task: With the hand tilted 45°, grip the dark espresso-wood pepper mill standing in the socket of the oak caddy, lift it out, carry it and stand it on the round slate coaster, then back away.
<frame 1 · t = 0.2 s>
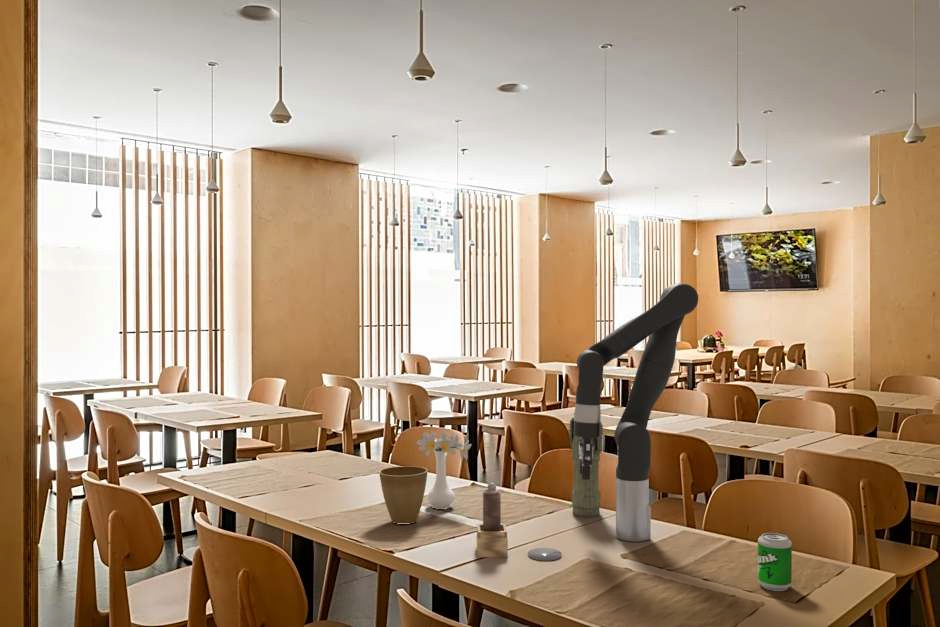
hand: (584, 476, 226), 18 cm above the table, tool pointing down, fingers open, 8 cm apart
oak caddy: (491, 551, 214), on the table
pepper mill: (491, 533, 214), point 5 cm above the table, touching oak caddy
plant pot: (403, 522, 244), on the table
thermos: (586, 514, 253), on the table
soda can: (774, 587, 187), on the table
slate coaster: (544, 555, 211), on the table
flower vase: (443, 507, 261), on the table
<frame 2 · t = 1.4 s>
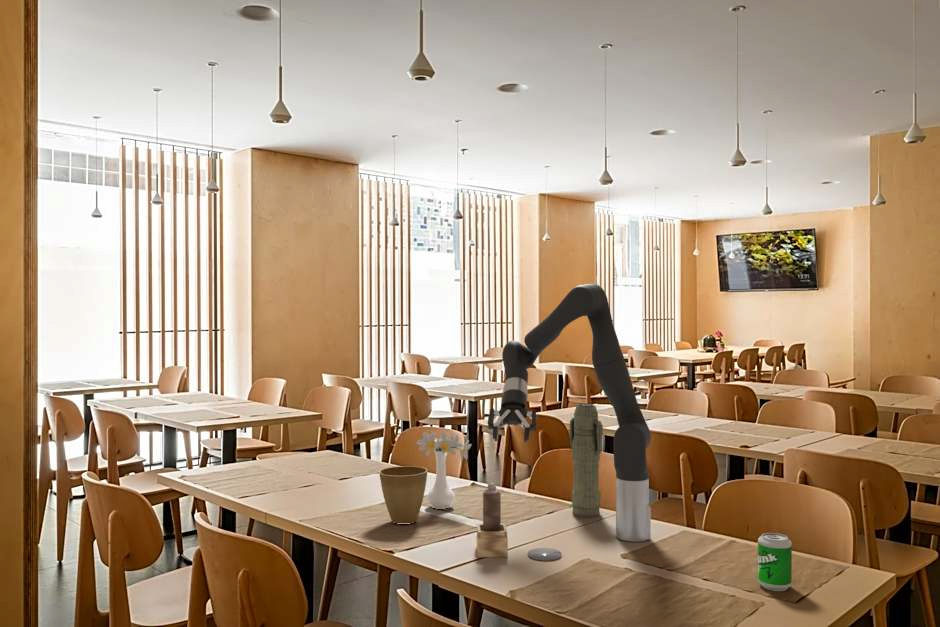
hand: (510, 440, 228), 28 cm above the table, tool tilted 45°, fingers open, 8 cm apart
nothing on the table moved.
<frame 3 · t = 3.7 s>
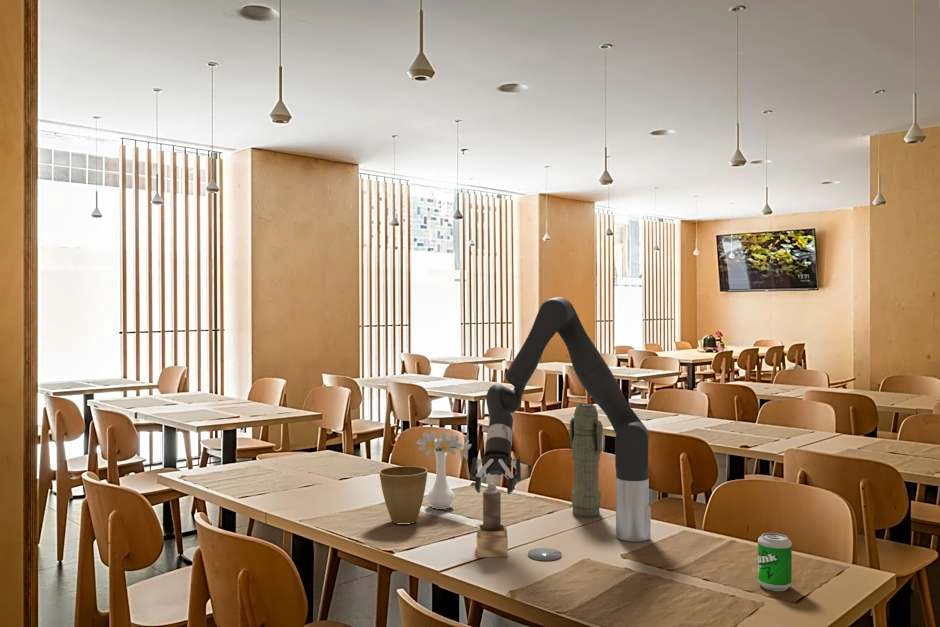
hand: (493, 491, 218), 15 cm above the table, tool tilted 45°, fingers open, 8 cm apart
nothing on the table moved.
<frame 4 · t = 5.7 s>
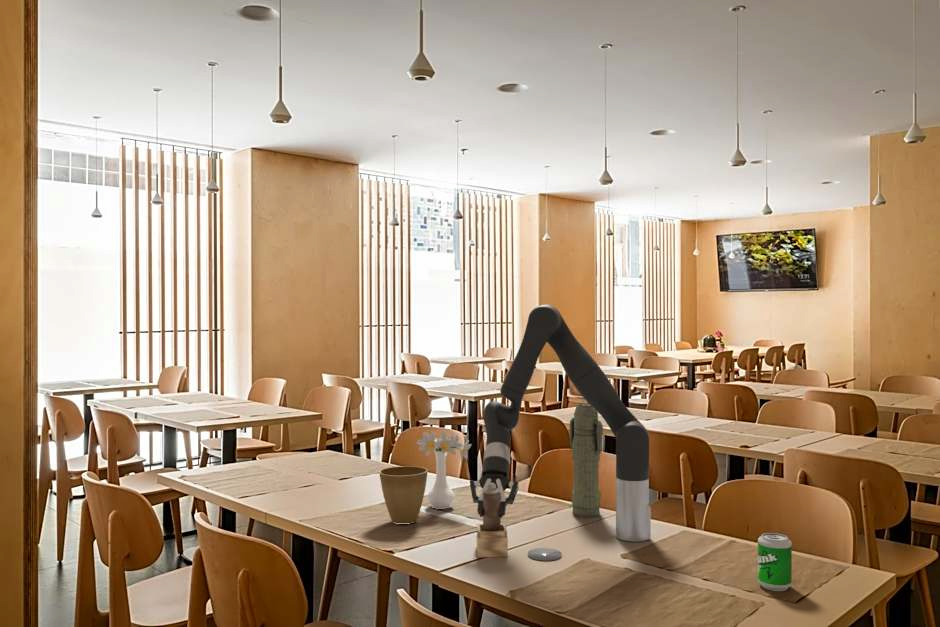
hand: (491, 515, 212), 10 cm above the table, tool tilted 45°, fingers closed on pepper mill, 4 cm apart
pepper mill: (491, 533, 214), point 5 cm above the table, touching gripper, oak caddy
everything else where it was.
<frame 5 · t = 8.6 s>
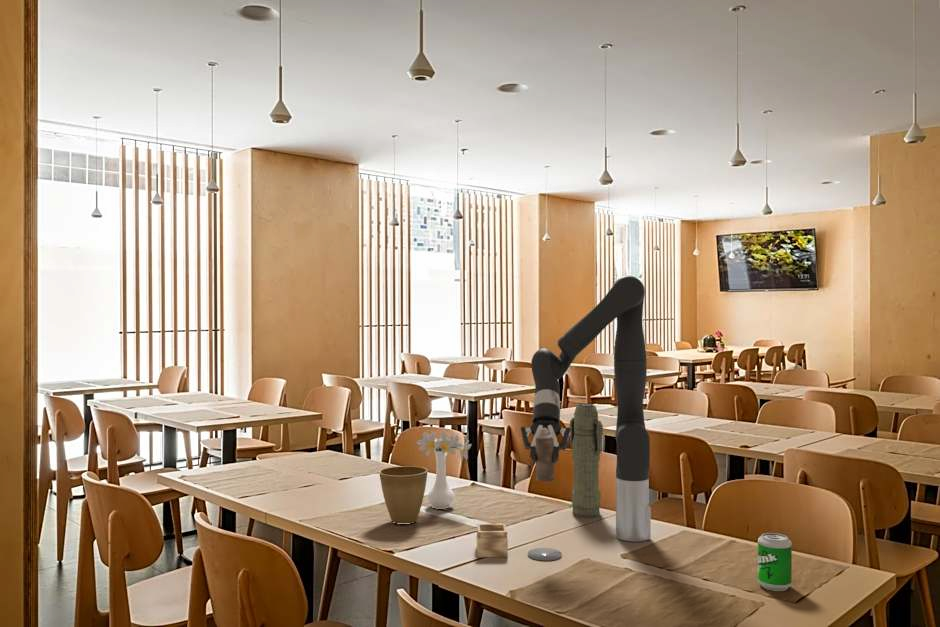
hand: (544, 461, 209), 26 cm above the table, tool tilted 45°, fingers closed on pepper mill, 4 cm apart
pepper mill: (545, 479, 211), point 20 cm above the table, touching gripper
everything else where it was.
when the fingers open (7 cm above the table, at t = 11.4 s): pepper mill drops 2 cm, resting on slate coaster.
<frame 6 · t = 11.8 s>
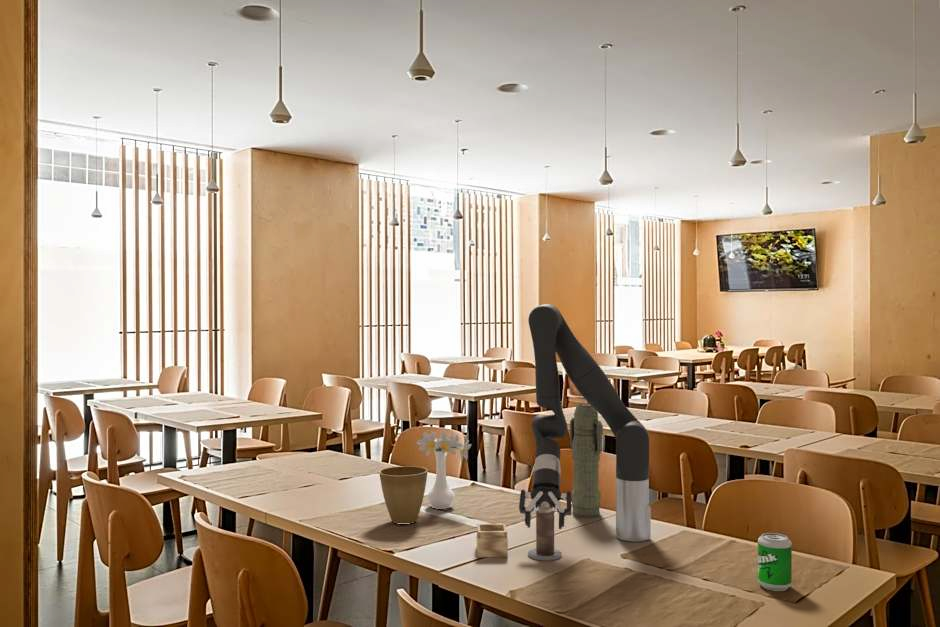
hand: (544, 527, 209), 8 cm above the table, tool tilted 45°, fingers open, 8 cm apart
pepper mill: (545, 553, 211), point 1 cm above the table, touching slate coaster
everything else where it was.
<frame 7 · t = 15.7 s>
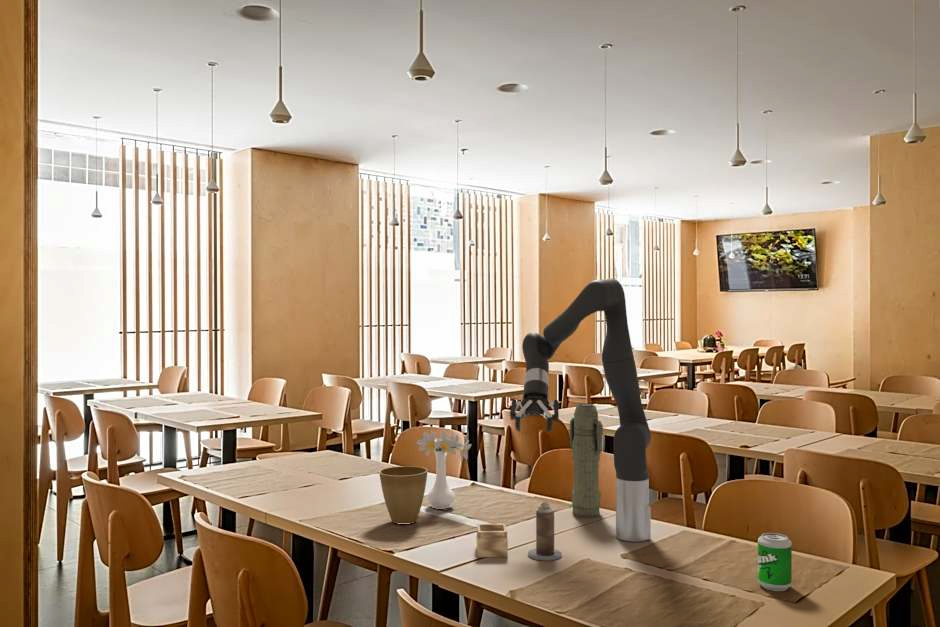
hand: (533, 430, 229), 31 cm above the table, tool tilted 45°, fingers open, 8 cm apart
nothing on the table moved.
at the end: pepper mill inside the target area on the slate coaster (0.1 cm from its centre), point 0.6 cm above the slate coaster's base; pepper mill tilted 0°; the gripper is holding nothing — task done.
